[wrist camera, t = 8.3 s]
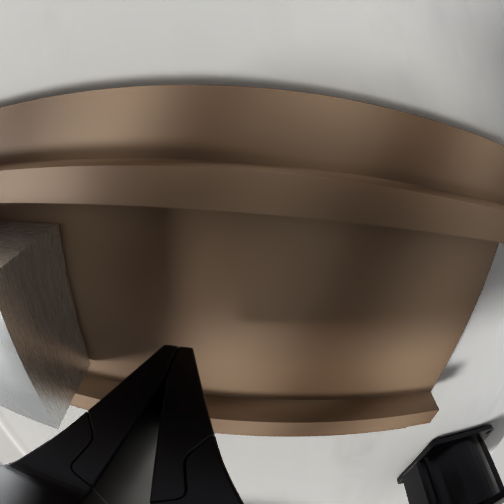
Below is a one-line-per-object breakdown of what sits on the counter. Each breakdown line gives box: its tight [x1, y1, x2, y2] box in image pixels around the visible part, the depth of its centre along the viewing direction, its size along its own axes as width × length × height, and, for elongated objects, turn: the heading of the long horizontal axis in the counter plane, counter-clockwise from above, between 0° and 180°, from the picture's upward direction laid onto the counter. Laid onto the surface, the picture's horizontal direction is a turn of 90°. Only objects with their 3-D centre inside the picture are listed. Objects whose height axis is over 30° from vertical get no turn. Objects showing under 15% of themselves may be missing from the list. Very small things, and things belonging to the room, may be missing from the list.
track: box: [0, 85, 504, 436], centre depth 9 cm, size 23×14×4 cm, turn 85°
